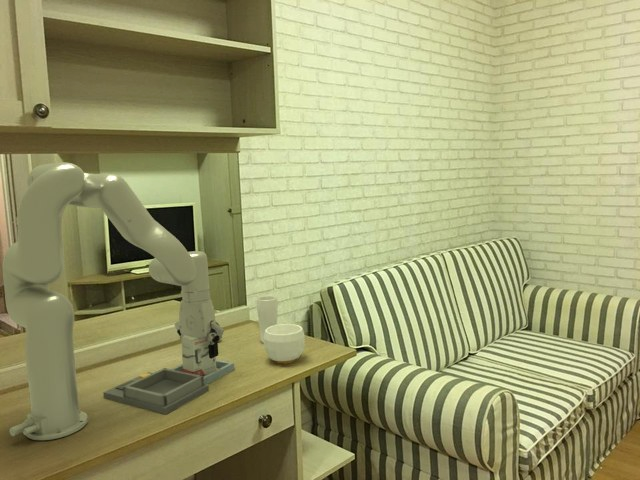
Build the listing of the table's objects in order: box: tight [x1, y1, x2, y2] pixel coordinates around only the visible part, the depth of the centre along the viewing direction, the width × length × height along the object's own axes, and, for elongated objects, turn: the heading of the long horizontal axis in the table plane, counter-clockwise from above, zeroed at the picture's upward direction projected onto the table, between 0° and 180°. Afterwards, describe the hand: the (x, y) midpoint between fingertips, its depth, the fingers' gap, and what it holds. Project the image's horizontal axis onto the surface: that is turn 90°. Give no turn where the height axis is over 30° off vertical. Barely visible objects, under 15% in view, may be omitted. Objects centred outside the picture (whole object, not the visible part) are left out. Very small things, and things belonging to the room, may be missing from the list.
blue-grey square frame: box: [171, 359, 235, 385], centre depth 146 cm, size 14×14×2 cm
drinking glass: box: [256, 295, 278, 344], centre depth 173 cm, size 7×7×15 cm
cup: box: [263, 323, 306, 364], centre depth 155 cm, size 12×12×10 cm
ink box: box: [181, 335, 217, 376], centre depth 145 cm, size 9×5×12 cm, turn 143°
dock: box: [102, 367, 210, 415], centre depth 133 cm, size 15×22×4 cm
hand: (200, 354), depth 146 cm, fingers open, 9 cm apart
